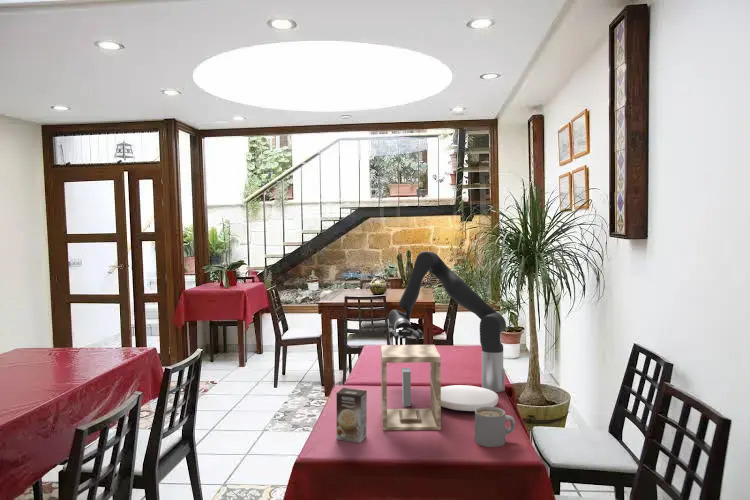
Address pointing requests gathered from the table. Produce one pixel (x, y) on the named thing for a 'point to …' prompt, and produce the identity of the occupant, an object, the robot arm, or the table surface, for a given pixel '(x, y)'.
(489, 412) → the coffee mug
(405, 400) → the grey block
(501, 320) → the robot arm
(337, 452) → the table surface
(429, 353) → the shelf
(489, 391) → the plate
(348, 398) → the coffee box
